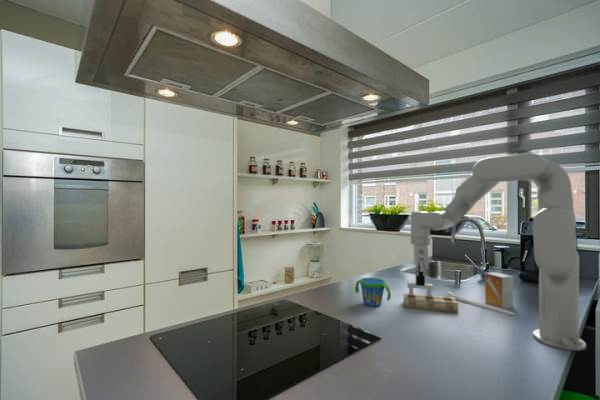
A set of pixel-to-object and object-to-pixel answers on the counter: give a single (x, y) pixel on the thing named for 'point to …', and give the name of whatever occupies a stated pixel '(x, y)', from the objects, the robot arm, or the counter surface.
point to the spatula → (450, 294)
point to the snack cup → (372, 291)
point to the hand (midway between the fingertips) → (420, 283)
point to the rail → (430, 303)
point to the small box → (499, 289)
